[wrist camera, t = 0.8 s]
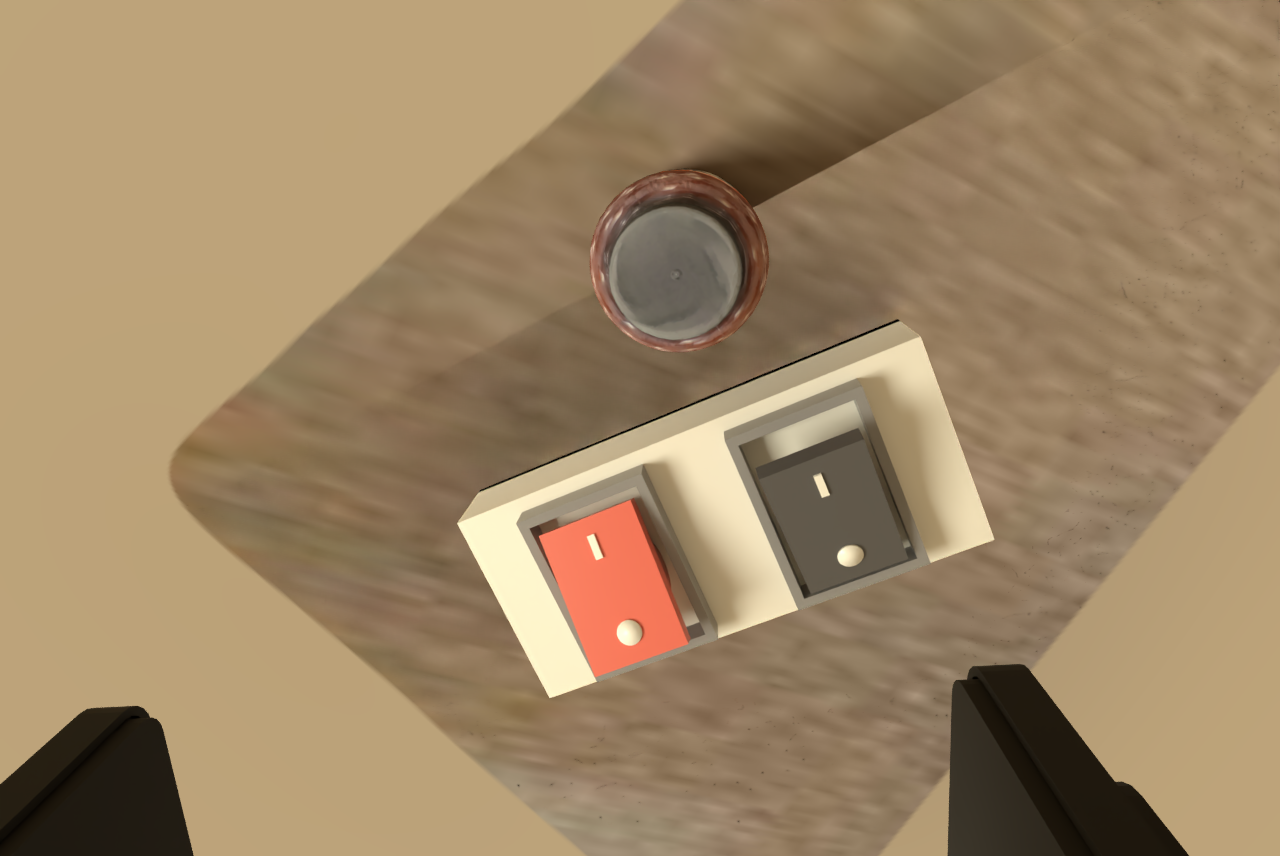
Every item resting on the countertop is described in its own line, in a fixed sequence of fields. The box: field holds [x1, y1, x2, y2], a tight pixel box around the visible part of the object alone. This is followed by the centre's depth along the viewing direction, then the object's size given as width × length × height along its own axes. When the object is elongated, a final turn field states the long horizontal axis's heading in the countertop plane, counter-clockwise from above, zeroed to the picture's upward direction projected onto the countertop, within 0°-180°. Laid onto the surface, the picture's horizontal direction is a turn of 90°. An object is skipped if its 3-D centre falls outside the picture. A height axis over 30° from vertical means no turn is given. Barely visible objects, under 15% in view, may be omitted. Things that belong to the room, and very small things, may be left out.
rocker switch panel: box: [457, 319, 994, 698], centre depth 37 cm, size 20×9×5 cm, turn 114°
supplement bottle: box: [590, 169, 769, 352], centre depth 31 cm, size 6×6×11 cm
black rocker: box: [755, 428, 908, 594], centre depth 33 cm, size 4×6×2 cm, turn 24°
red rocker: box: [539, 498, 691, 677], centre depth 35 cm, size 4×6×2 cm, turn 24°
